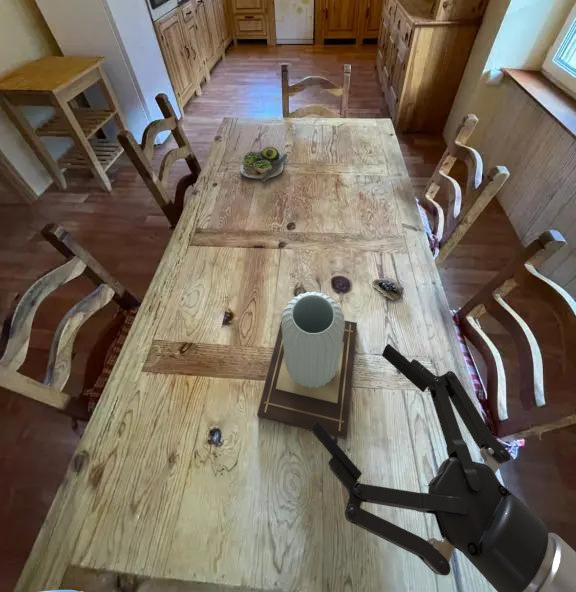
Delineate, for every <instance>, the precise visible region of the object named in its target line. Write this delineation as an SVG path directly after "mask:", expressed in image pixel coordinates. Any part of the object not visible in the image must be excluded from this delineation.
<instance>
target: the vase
mask: <svg viewBox="0 0 576 592" xmlns="http://www.w3.org/2000/svg"><path fill="white" fill-rule="evenodd" d="M280 320H281V321H282V324H281V323H280V324H281V327H282V336H283V346H284V356H285V365H286V367H287V371H288V372H289V373H290V376H291V378H292V379H294V380H295V382H296V383H299V384H301V386H303V387H304V386H306V387H308V388H311V387H315V388H318V387H319V386H324V385H325V384H326V383H327V382H328V383H329V382H330V381H331V379H332V378H333V377H334V376H335V373H336V371H337V369H338V364H339V359H340V353H341V347H342V341H343V335H344V328H345V321H346V320H345V313H343V312H342V307H341V306H340V305H338V302H336V300H335V299H332V298H331V296H329V295H326V294H324V293H322V292H320V293H319V292H317V291H313V292H309V291H306V292H305V293H299V294H298V295H297V296H294V297H293V298H292V299H291V300H290V301H288V303H286V306H285V307H284V308H283V311H282V315H281V319H280ZM344 320H345V321H344ZM281 321H280V322H281Z"/></svg>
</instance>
